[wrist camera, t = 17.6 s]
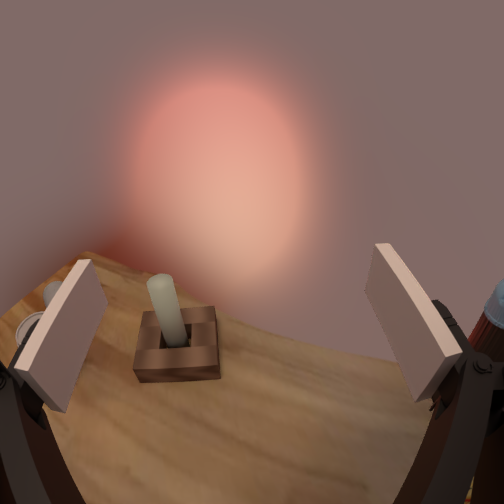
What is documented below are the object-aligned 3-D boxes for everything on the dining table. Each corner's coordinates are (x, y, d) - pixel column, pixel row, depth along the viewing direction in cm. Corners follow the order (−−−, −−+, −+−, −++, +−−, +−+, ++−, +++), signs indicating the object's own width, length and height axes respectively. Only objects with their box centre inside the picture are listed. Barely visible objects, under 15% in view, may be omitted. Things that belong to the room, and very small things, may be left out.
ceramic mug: (56, 332, 54) (42, 306, 49) (50, 312, 59) (38, 287, 55) (94, 312, 60) (83, 286, 56) (85, 295, 65) (75, 270, 61)
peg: (191, 341, 53) (173, 272, 44) (190, 358, 50) (171, 289, 41) (170, 343, 53) (148, 275, 44) (169, 359, 49) (144, 291, 41)
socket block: (216, 320, 58) (214, 305, 56) (220, 378, 46) (217, 364, 44) (148, 325, 56) (143, 311, 54) (140, 382, 45) (132, 369, 42)
